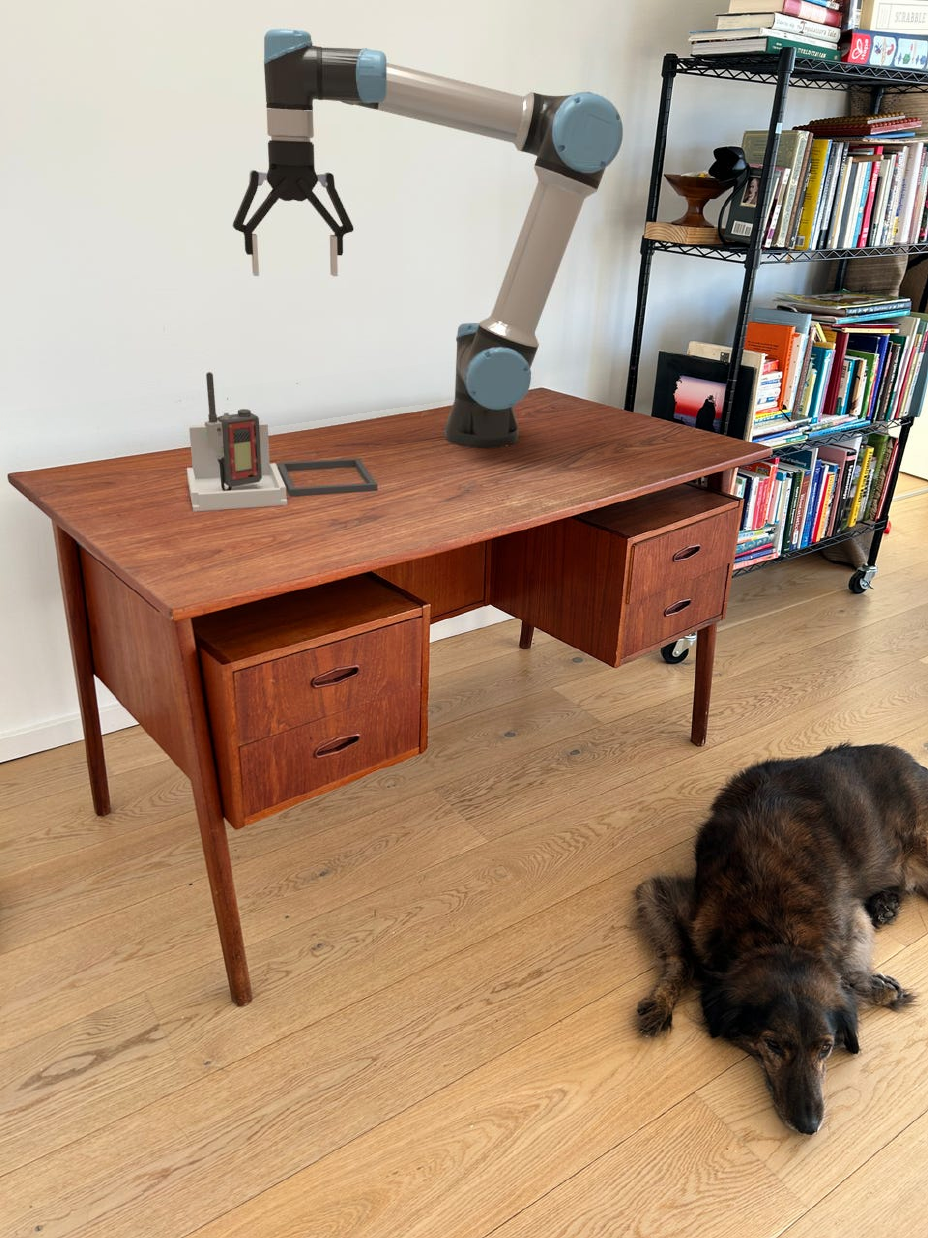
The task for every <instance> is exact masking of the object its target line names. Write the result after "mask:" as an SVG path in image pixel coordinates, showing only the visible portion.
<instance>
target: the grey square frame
mask: <svg viewBox="0 0 928 1238" xmlns="http://www.w3.org/2000/svg"><path fill="white" fill-rule="evenodd" d="M277 468H278V470H279V473H280V475H281V477H282V480H283V482H284V484H285V486H286V492H287V493H288V495H289V497H304V496H318V495H320V496H321V495H322V496H323V495H333V494H335V495H337V494H347V493H348V494H349V493H363V492H378V483H377V482H376V481H375V479H374V478H373V476H372V475H371V473H370V472H369V470H368V469H367V467H366V466H365V464H364V463H363V461H362V460H361V459H360V458H359V457H358V458H341V459H340V458H339V459H337V458H336V459H324V460H323V459H322V460H319V459H317V460H305V461H304V460H303V461H302V460H301V461H298V460H297V461H284V462H277ZM347 468H348V469H349V468H355V469H356V471H357V472H358V473H359V475H360V477H361V478H362V479H363V481H364V482H363V483H347V484H329V485H327V484H326V485H313V486H298V487H295V485H294V483H293V481H292V478H291V476H290V474H289V473H288V472H297V471H300V472H301V471H313V470H325V469H326V470H329V469H332V470H333V469H347Z"/></svg>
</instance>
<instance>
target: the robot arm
mask: <svg viewBox="0 0 928 1238" xmlns="http://www.w3.org/2000/svg"><path fill="white" fill-rule="evenodd" d="M263 46H264V47H263V49H264V50H263V53H264V54H263V57H264V60H263V69H264V70H263V71H264V85H265V87H264V88H265V106H266V126H267V127H266V129H267V132H266V133H267V135H268V136H269V137H270V138H271V140H268V142H267V156H268V159H267V160H268V170H267V172H262V171H261V172H260V171H257V170H255V169H252V170H250V172H249V181H248V183H249V184H248V186H247V188H246V192H245V193H244V196H243V198H242V201H241V202H240V205H239V208H238V211H237V213H236V215H235V217H234V220H233V222H232V227H233V229H234V230H236V231H238V232H240V233H242V234H243V235H244V236H243V237H244V238H243V239H244V251H245V253H246V255H249V256H250V255H251V264H252V266H251V267H252V275H253V276H254V277H260V271H259V270H260V268H259V267H260V266H259V251H258V250H259V249H258V235H257V234H256V233H254V231H255V229H257V227H258V226H259V225H260V224H261V222H262V221H263V220H264V218H265V217H266V215H267V214H268V213H269V212H270V210H271V209H272V208H273V206H274V205H275V204H276V203H277V202H278V201H279V199H280V200H282V201H284V202H292V201H296V202H304V201H306V200H307V201H308V202H309V203H310V204H311V205H312V206H313V208H314V209H315V210H316V211H317V213H318V214H319V215H320V217H321V218H322V219H323V220H324V222H325V223H326V224H327V225H328V227H329V228H330V229H331V231H332V232H333V233H334V234H330V235H329V261H330V267H329V268H330V275H331V276H332V277H338V276H339V275H338V272H339V271H338V270H339V269H338V256H343V253H344V236H345V235H347V234H349V233H353V231H354V226H353V223H352V220H351V219H350V217H349V215H348V213H347V211H346V208H345V206H344V203H343V201H342V200H341V197H340V196H339V193H338V191H337V189H336V186H335V177H334V176H335V175H334V174H333V173H331V172H324V173H322V174H317V172H316V169H315V168H316V167H315V144H314V143H313V142H312V141H311V139H313V138H314V137H315V133H314V132H315V131H314V129H315V127H314V105H313V102H314V100H318V101H332V102H333V101H334V102H341V103H343V104H346V105H349V106H354V105H355V106H359V107H364V108H367V109H370V110H371V109H372V110H377V111H381V112H385V113H390V114H392V115H393V114H394V115H398V116H401V117H405V118H409V119H414V120H417V121H421V122H426V123H429V124H434V125H437V126H443V127H447V128H450V129H454V130H459V131H463V132H468V133H471V134H475V135H480V136H483V137H487V138H491V139H496V140H500V141H504V142H508V143H512V144H514V146H515V148H516V150H517V151H518V152H522V153H526V154H527V153H528V154H531V155H533V156H536V160H535V163H534V166H533V169H534V171H535V174H536V176H537V184H536V187H535V190H534V192H533V195H532V198H531V201H530V204H529V207H528V210H527V212H526V215H525V217H524V221H523V224H522V226H521V230H520V232H519V235H518V238H517V240H516V243H515V246H514V249H513V252H512V255H511V257H510V260H509V263H508V266H507V269H506V271H505V274H504V277H503V280H502V283H501V286H500V289H499V292H498V295H497V296H496V300H495V303H494V307H493V309H492V311H491V315H490V316H489V317H488V318H485V319H483V320H481V321H480V322H468V323H467V322H466V323H461V324H460V325H459V326H458V328H457V335H456V337H455V338H456V339H455V340H456V361H455V363H456V365H455V385H454V386H455V387H454V401H453V403H452V407H451V408H450V411H449V412H450V413H449V415H448V416H447V421H446V423H445V428H444V438H445V439H446V440H447V441H448V442H450V443H452V444H454V443H455V444H454V445H457V444H458V446H461V445H462V447H466V446H469V447H468V448H474V447H476V448H477V449H492V448H491V447H498V448H502V447H501V446H505V447H507V446H506V445H509V446H511V445H510V444H512V445H514V444H513V443H515V444H516V443H518V441H519V432H520V431H519V426H518V421H517V418H516V414H515V410H514V406H516V405H517V404H519V403H520V402H521V401H522V400H523V399H524V398H525V396H526V395H527V393H528V392H529V389H530V386H531V381H532V371H531V368H532V365H533V362H534V360H535V358H536V357H535V356H536V355H537V351H538V348H539V347H540V345H539V344H540V343H539V342H538V338H537V337H536V331H537V327H538V326H539V322H540V319H541V316H542V314H543V312H544V310H545V306H546V303H547V300H548V298H549V296H550V293H551V291H552V288H553V285H554V282H555V279H556V277H557V274H558V271H559V268H560V266H561V263H562V261H563V257H564V255H565V253H566V250H567V247H568V245H569V241H570V239H571V237H572V234H573V232H574V228H575V225H576V223H577V220H578V217H579V214H580V213H581V209H582V206H583V205H584V202H585V199H587V197H590V196H591V195H593V194H595V193H597V192H598V189H599V187H600V184H601V182H602V180H603V176H604V174H605V172H606V168H607V167H609V165H610V164H611V163H612V162H613V161H614V160H615V159H616V156H617V155H618V153H619V151H620V149H621V146H622V143H623V139H624V138H623V136H624V129H623V128H624V127H623V121H622V117H621V115H620V113H619V111H618V109H617V107H616V106H615V105H614V104H613V103H612V102H611V101H610V100H609V99H607V98H606V97H604V96H602V95H600V94H598V93H593V92H590V91H582V92H575V93H574V94H569V95H568V94H567V95H547V94H542V93H541V94H540V93H537V92H533V91H530V92H528V93H527V94H526V95H524V96H522V95H518V94H514V93H510V92H506V91H502V90H498V89H494V88H491V87H486V86H482V85H479V84H478V85H477V84H474V83H470V82H466V81H462V80H458V79H455V78H454V79H453V78H449V77H445V76H442V75H437V74H435V73H434V74H433V73H430V72H425V71H422V70H418V69H414V68H409V67H405V66H403V65H397V64H394V63H390V62H387V56H386V54H385V53H384V52H383V51H382V50H376V49H369V48H367V47H366V48H365V47H363V48H348V47H343V48H342V47H322V46H317V45H314V44H313V41H312V36H311V33H309V32H308V31H306V30H299V29H297V30H296V29H288V28H287V29H285V28H273V29H269V30H267V31H266V33H265V35H264V38H263ZM265 181H266V182H267V183H268V184H269V186H270V188H271V191H270V192H269V193H268V194H267V196H266V198H265V199H264V201H262V203H261V204H260V205H259V207H257V208H258V209H257V210H256V211H255V212H254V214H253V215H252V216H251V218H250V219H248V221H247V223H246V224H244V222H245V220H246V217H247V215H248V213H249V211H250V208H251V206H252V203H253V201H254V198H255V196H256V194H257V191H258V188H259V187H261V186H262V185H263V183H264V182H265ZM318 183H320V184H321V187H322V188H325V189H326V192H327V194H328V196H329V199H330V201H331V203H332V206H333V207H334V209H335V212H336V213H337V216H338V218H339V220H340V222H341V224H342V225H339V224H338V222H337V221H336V220H335V218H334V217H333V216H332V214H330V212H329V211H328V210H327V208H326V207H325V205H323V204H322V203H323V202H321V201H320V199H319V198H318V196H317V195H316V193H314V191H313V190H314V188H315V187H316V185H317V184H318ZM476 448H475V449H476Z"/></svg>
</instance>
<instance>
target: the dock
mask: <svg viewBox="0 0 928 1238" xmlns="http://www.w3.org/2000/svg"><path fill="white" fill-rule="evenodd" d="M188 429H189V440H190V453H191V463H192V467H186V474H187V485H188V489H189V496H190V500H191V505H192V506H191V507H192V510H193V511H192V512H193V513H194V512H195V513H196V512H205V511H206V512H209V511H219V510H220V511H221V510H233V509H234V510H237V509H248V508H263V507H264V508H265V507H276V506H277V507H278V506H288V500H287V489H286V486H285V484H284V482H283V480H282V477H281V475H280V473H279V470H278V465H277V463H275V462H273V463H272V462H270V446H269V445H270V444H269V443H270V442H269V441H270V440H269V425H268V423H267V422H259V429H260V449H261V450H260V452H261V454H260V455H261V468H262V469H261V471H262V472H261V473H262V479H261V480H260V481H259V482H256V483H251V484H245V485H240V486H234V487H232V489H231V491H223V490H222V487H221V477H220V476H221V475H220V465H219V462H218V460H217V458H215V453H214V452H213V451H212V450H211V449H210V447H209V446H208V445H207V434H206V427H205V424H203V425H189V426H188ZM224 485H225V489H228V487H229V486H228V485H226V484H225V483H224Z"/></svg>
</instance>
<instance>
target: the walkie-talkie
mask: <svg viewBox="0 0 928 1238" xmlns="http://www.w3.org/2000/svg"><path fill="white" fill-rule="evenodd" d="M205 379H206V389H207V390H206V391H207V403H208V405H207V406H208V414H207V415H208V421H207V420H206V421H204V425H205V427H206V434H207V445H208V446H209V447H210V449H211V450H212V451H213V452H214V453H215V458H217V460H218V462H219V465H220V475H221V476H220V477H221V487H222V490H223V491H231V489H232V487H234V486H240V485H245V484H251V483H256V482H259V481H260V480H261V479H262V473H261V472H262V471H261V469H262V468H261V455H260V454H261V452H260V450H261V449H260V429H259V423H260V419H259V416H258V415H257V414H254V413H253V412H252V411H251V410H250V409H248V408H247V409H245V408H241V409H239V410H237V413H233V414H230V413H229V412H224V413H223V415H219V416H217V412H216V411H217V410H216V401H215V400H216V399H215V388H214V387H215V384H214V374H213V373H212V372H210V371H209V372H206V375H205ZM224 483H225V484H226V485H228V486H229V487H228V489H225V485H224Z"/></svg>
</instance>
